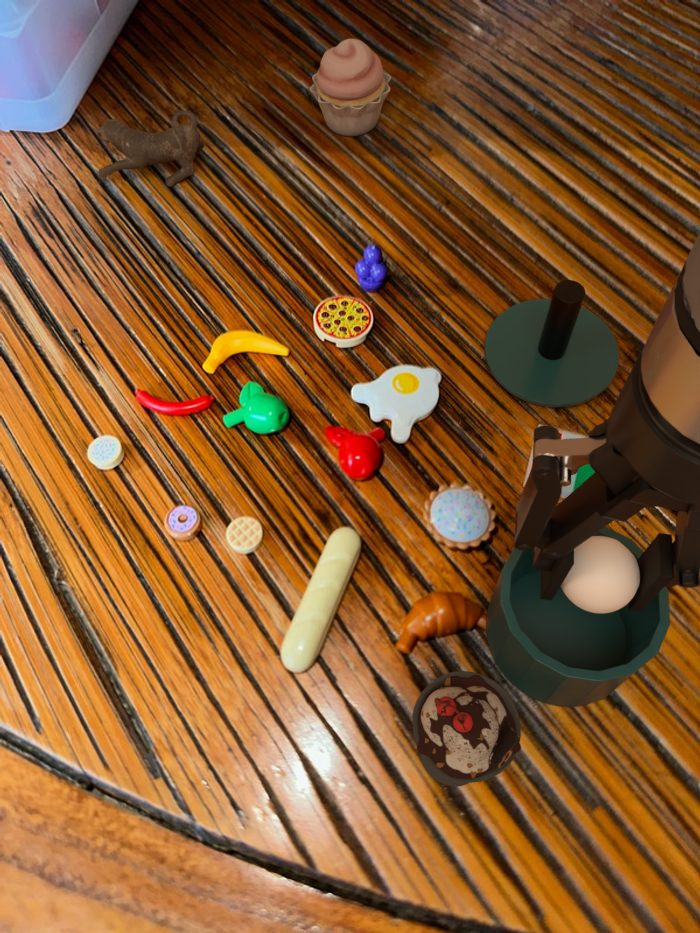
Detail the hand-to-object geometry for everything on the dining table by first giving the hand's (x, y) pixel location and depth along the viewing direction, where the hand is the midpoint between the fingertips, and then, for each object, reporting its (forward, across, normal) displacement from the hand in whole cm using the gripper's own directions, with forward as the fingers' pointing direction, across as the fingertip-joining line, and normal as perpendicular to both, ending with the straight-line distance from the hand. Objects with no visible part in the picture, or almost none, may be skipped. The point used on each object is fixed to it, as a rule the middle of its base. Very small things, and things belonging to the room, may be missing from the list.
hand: (590, 586), depth 51 cm
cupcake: (+11, +25, -59) cm, 65 cm away
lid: (+10, +1, -27) cm, 29 cm away
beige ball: (0, 0, 0) cm, 0 cm away
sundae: (+11, +7, +10) cm, 16 cm away
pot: (+10, 0, 0) cm, 10 cm away
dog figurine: (+11, +46, -48) cm, 68 cm away
